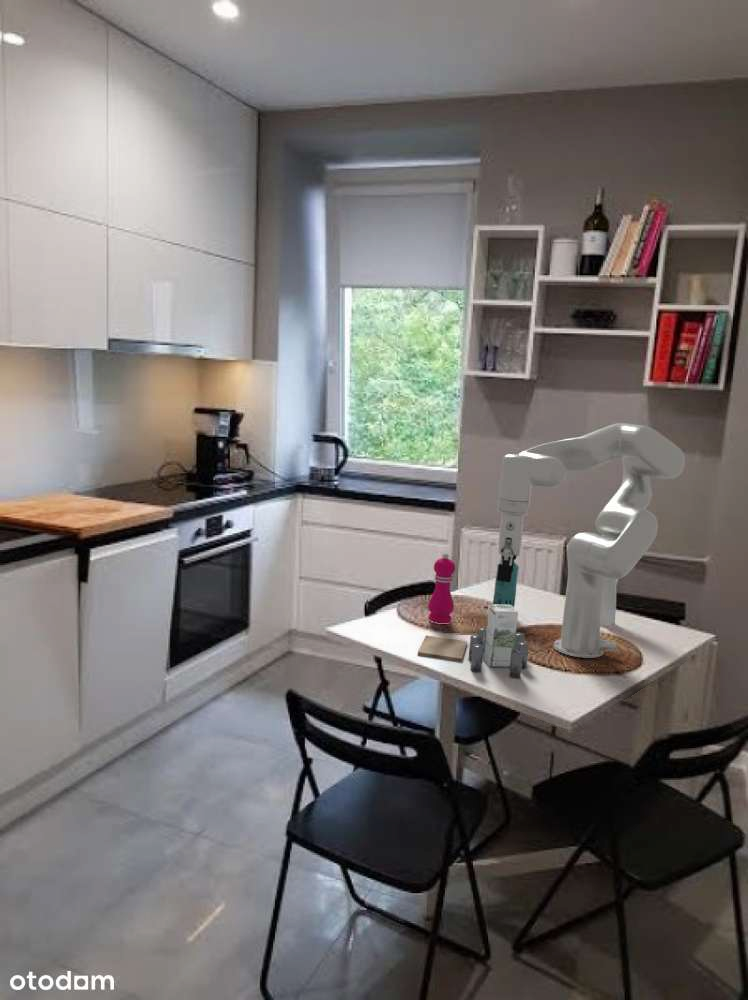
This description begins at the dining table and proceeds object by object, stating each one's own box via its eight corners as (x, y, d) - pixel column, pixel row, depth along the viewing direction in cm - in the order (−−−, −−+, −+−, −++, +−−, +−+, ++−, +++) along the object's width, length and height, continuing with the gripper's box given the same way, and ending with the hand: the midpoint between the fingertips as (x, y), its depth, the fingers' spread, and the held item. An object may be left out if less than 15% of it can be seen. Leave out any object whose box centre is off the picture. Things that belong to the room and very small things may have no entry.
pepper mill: (443, 627, 210) (450, 557, 206) (422, 621, 214) (427, 552, 211) (457, 621, 215) (463, 553, 212) (435, 615, 220) (441, 548, 216)
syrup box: (504, 659, 189) (510, 603, 187) (512, 668, 183) (518, 611, 181) (482, 658, 188) (488, 602, 186) (489, 668, 182) (495, 610, 180)
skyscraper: (608, 629, 219) (620, 535, 214) (584, 622, 224) (596, 530, 219) (619, 623, 225) (631, 532, 220) (596, 617, 230) (607, 527, 225)
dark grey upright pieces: (527, 656, 192) (529, 634, 191) (525, 680, 177) (528, 655, 176) (471, 648, 195) (473, 626, 194) (464, 670, 180) (467, 646, 179)
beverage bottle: (497, 611, 228) (504, 547, 225) (517, 616, 224) (524, 551, 221) (487, 616, 223) (494, 550, 220) (507, 621, 219) (515, 554, 216)
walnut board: (467, 644, 198) (467, 641, 198) (461, 661, 185) (461, 658, 185) (425, 638, 200) (426, 635, 200) (417, 654, 187) (417, 651, 187)
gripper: (528, 514, 170) (519, 587, 173) (530, 503, 187) (521, 570, 189) (494, 510, 172) (486, 582, 174) (499, 499, 188) (491, 566, 191)
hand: (504, 576), depth 182 cm, fingers open, 9 cm apart
